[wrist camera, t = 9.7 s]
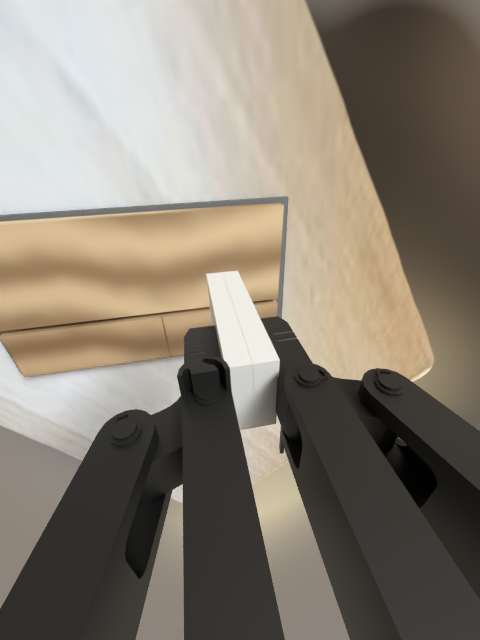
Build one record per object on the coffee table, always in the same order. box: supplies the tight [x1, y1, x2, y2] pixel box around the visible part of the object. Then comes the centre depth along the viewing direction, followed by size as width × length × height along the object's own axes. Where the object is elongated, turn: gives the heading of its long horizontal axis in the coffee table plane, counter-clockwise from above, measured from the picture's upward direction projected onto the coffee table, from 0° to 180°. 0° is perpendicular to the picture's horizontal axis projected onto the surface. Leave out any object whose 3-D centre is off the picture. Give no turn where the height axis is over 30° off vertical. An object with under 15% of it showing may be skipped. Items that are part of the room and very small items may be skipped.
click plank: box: [0, 203, 284, 332], centre depth 26 cm, size 10×29×1 cm, turn 92°
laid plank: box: [0, 299, 278, 377], centre depth 31 cm, size 6×29×1 cm, turn 92°
